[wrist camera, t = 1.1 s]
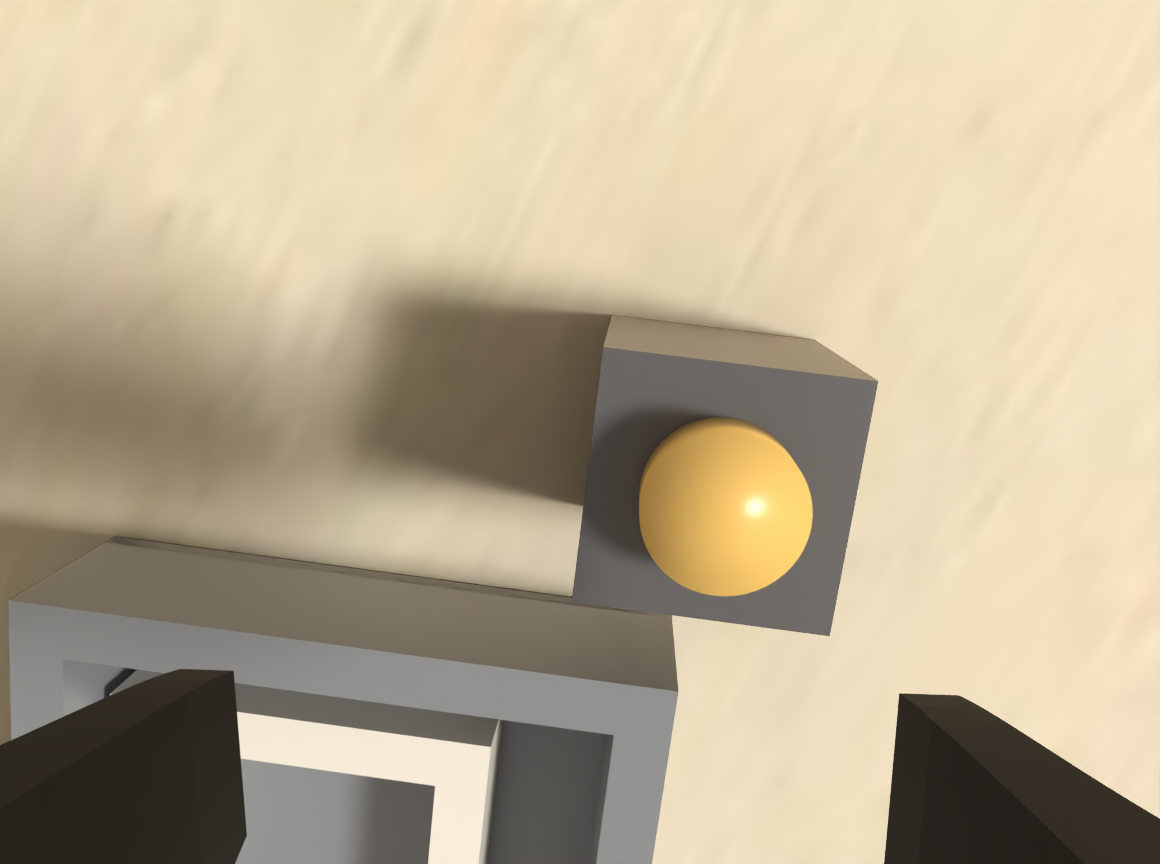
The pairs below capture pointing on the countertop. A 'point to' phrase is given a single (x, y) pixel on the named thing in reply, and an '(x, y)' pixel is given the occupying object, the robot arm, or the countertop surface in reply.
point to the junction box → (377, 701)
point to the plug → (721, 475)
